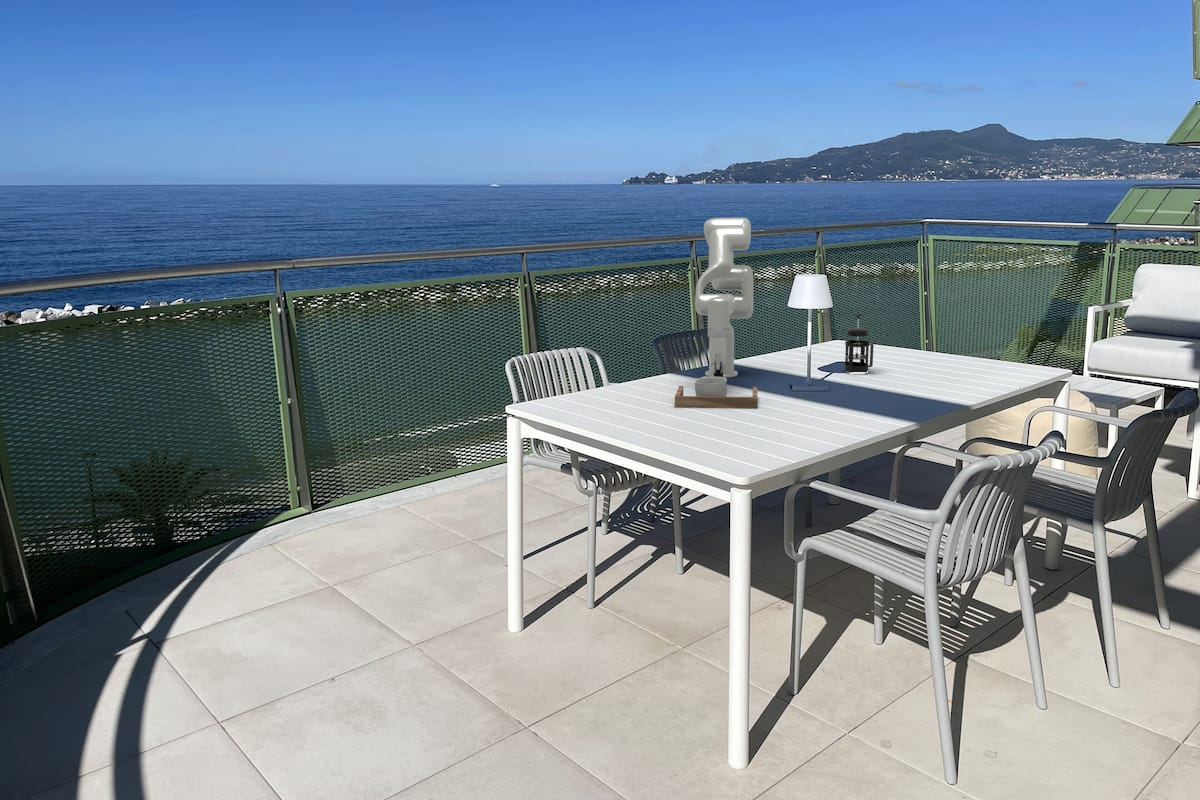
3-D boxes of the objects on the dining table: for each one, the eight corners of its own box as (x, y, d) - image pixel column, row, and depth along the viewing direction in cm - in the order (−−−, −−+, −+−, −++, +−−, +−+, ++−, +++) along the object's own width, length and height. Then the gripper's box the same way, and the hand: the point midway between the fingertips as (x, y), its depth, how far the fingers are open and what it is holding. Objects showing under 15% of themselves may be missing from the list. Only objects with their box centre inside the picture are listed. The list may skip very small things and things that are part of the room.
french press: (837, 372, 335) (839, 313, 330) (850, 369, 341) (852, 311, 336) (864, 376, 326) (867, 316, 321) (877, 372, 333) (880, 313, 328)
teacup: (728, 405, 286) (728, 382, 284) (695, 406, 287) (695, 382, 285) (723, 396, 300) (723, 374, 298) (692, 397, 300) (692, 374, 298)
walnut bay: (679, 395, 303) (679, 385, 302) (757, 396, 298) (757, 386, 297) (674, 407, 286) (674, 397, 285) (757, 408, 281) (757, 397, 281)
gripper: (708, 329, 308) (708, 379, 313) (706, 336, 294) (706, 388, 298) (729, 329, 307) (729, 379, 311) (728, 336, 293) (728, 388, 297)
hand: (718, 383), depth 305 cm, fingers closed
